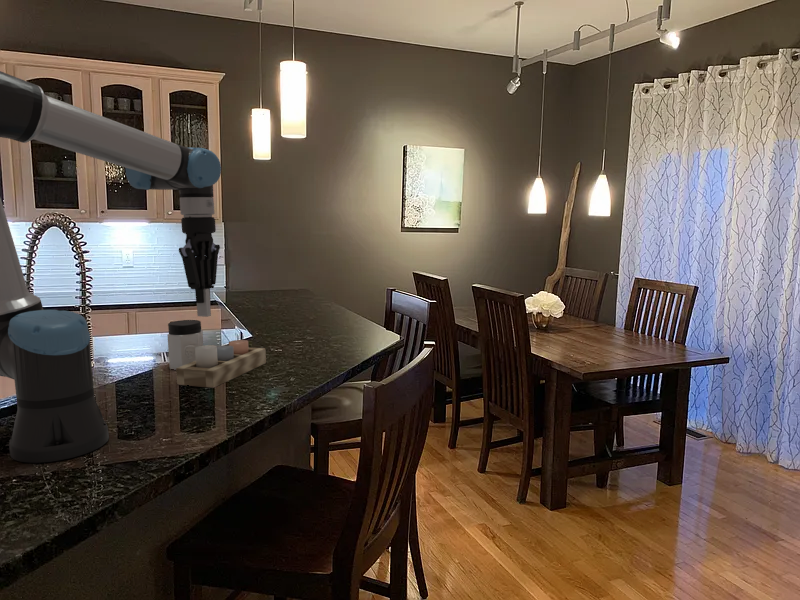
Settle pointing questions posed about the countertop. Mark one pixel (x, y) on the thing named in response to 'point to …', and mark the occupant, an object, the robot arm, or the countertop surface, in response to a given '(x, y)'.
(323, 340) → the countertop surface
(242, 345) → the brown piece
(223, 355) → the grey cylinder
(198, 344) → the jar
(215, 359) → the key ivory
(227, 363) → the patterned wooden tray
